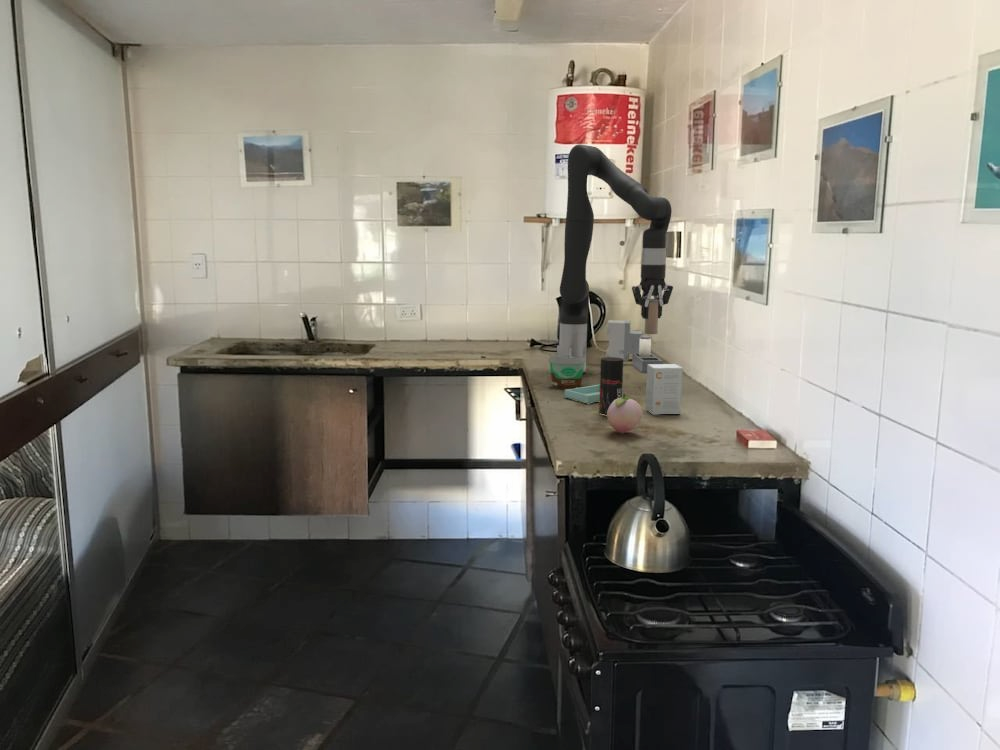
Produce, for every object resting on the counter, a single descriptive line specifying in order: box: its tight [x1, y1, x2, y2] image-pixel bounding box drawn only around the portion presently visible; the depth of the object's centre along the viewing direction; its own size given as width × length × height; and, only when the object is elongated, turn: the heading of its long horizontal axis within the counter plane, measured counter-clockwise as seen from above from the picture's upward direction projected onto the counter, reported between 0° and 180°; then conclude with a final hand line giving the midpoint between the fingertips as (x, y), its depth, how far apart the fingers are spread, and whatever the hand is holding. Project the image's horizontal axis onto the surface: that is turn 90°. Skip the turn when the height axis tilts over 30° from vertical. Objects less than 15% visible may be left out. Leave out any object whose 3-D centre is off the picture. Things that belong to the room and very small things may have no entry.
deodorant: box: [598, 356, 624, 415], centre depth 214 cm, size 6×6×15 cm
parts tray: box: [564, 384, 624, 403], centre depth 234 cm, size 14×10×2 cm
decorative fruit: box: [606, 393, 643, 434], centre depth 194 cm, size 9×8×10 cm
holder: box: [631, 334, 664, 374], centre depth 278 cm, size 16×7×12 cm, turn 3°
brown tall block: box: [644, 298, 659, 335], centre depth 250 cm, size 4×4×11 cm
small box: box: [645, 363, 684, 415], centre depth 216 cm, size 8×6×13 cm
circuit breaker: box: [605, 319, 643, 362], centre depth 296 cm, size 8×14×15 cm, turn 78°
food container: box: [547, 354, 587, 389], centre depth 249 cm, size 12×6×10 cm, turn 105°
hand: (651, 318), depth 250 cm, fingers closed on brown tall block, 4 cm apart
